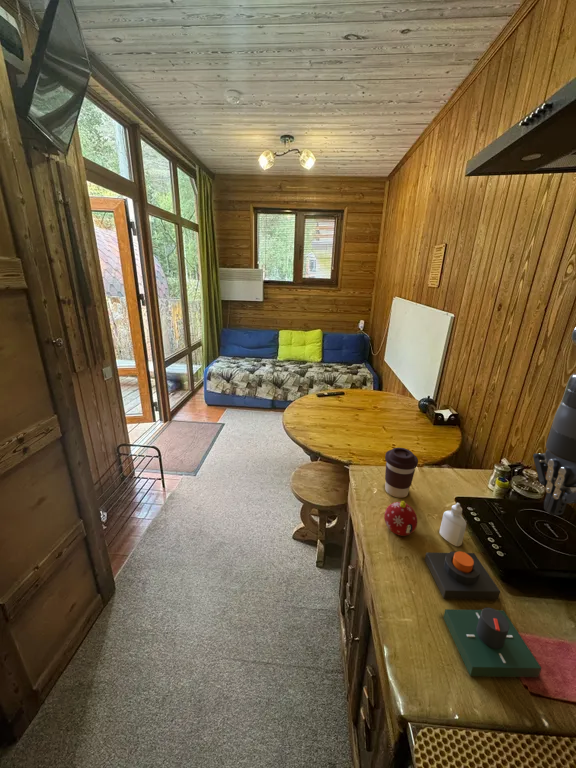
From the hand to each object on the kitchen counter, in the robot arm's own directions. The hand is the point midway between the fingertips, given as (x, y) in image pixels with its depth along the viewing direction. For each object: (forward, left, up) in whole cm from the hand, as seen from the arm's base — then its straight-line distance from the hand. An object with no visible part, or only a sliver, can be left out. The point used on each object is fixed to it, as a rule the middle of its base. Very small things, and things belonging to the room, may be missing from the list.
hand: (551, 512), depth 59 cm
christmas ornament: (+19, -21, -25) cm, 38 cm away
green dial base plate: (+12, +8, -25) cm, 29 cm away
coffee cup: (+14, -38, -25) cm, 48 cm away
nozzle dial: (+12, +8, -22) cm, 26 cm away
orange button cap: (+10, -6, -20) cm, 23 cm away
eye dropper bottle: (+6, -18, -25) cm, 32 cm away
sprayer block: (+10, -6, -25) cm, 28 cm away
